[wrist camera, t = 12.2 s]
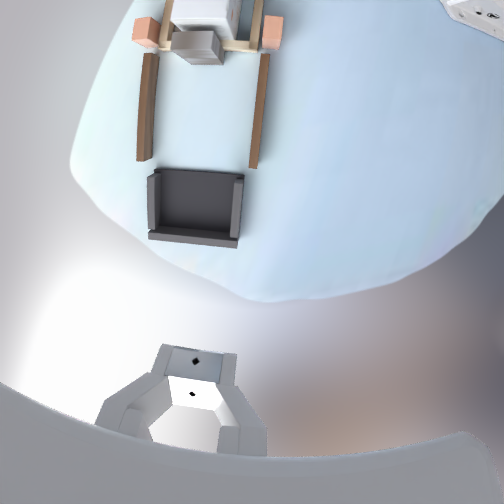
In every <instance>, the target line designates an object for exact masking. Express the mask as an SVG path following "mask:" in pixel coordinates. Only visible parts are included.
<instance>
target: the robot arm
mask: <svg viewBox="0 0 504 504" xmlns="http://www.w3.org/2000/svg"><path fill="white" fill-rule="evenodd" d="M440 1H441V2H442V4H443V6H444V8H445V10H446V11H447V13H448V14H449V16H450V17H451V18H452V19H453V20H455V21H458V22H460V23H463V24H466V25H468V26H471V27H473V28H476V29H478V30H480V31H483V32H485V33H487V34H489V35H491V36H494V37H496V38H498V39H500V40H502V41H504V0H440ZM236 360H237V354H231V353H223V352H213V351H206V350H196V349H190V348H184V347H179V346H173V345H167V344H162V345H161V347H160V349H159V352H158V354H157V357H156V360H155V363H154V365H153V368H152V370H151V373H145V374H144V375H143V376H141V377H139V378H138V379H136V380H135V381H134V382H132V383H130V384H129V385H127V386H126V387H124V388H123V389H121V390H120V391H118V392H117V393H115V394H114V395H112V396H111V397H109V398H107V399H106V400H105V401H104V403H103V406H102V408H101V410H100V412H99V415H98V417H97V419H96V422H95V424H94V425H93V424H90V423H87V422H85V421H82V420H79V419H77V418H74V417H72V416H69V415H67V414H64V413H62V412H59V411H57V410H55V409H52V408H50V407H48V406H45V405H43V404H41V403H39V402H37V401H35V400H33V399H31V398H29V397H27V396H25V395H23V394H21V393H19V392H17V391H15V390H13V389H12V388H10V387H7V386H6V385H4V384H3V383H1V382H0V504H504V499H503V494H502V489H501V484H500V480H499V476H498V473H497V469H496V466H495V463H494V460H493V457H492V454H491V452H490V450H489V448H488V447H487V446H486V445H485V444H484V443H482V442H481V441H480V440H479V439H477V438H476V437H475V436H473V435H472V434H470V433H468V432H466V431H461V432H456V433H453V434H450V435H447V436H443V437H439V438H436V439H432V440H428V441H424V442H419V443H415V444H410V445H406V446H401V447H396V448H390V449H384V450H378V451H371V452H364V453H355V454H345V455H333V456H317V457H267V427H266V426H265V425H264V423H263V422H262V421H261V419H260V418H259V417H258V415H257V414H256V412H255V411H254V409H253V408H252V406H251V405H250V404H249V402H248V401H247V399H246V398H245V396H244V395H243V393H242V392H241V391H240V389H239V388H238V386H234V379H235V370H236ZM173 404H179V405H185V406H194V407H199V408H205V409H211V410H214V411H215V413H216V415H217V417H218V419H219V421H220V423H221V425H222V427H221V428H220V432H219V439H218V446H217V453H214V452H207V451H201V450H193V449H188V448H182V447H176V446H171V445H166V444H162V443H157V442H153V439H152V437H151V434H150V432H149V429H148V427H149V426H150V425H151V424H152V423H153V422H155V421H156V420H157V419H158V418H159V417H160V416H161V415H162V414H163V413H164V412H165V411H167V410H168V409H169V408H170V407H171V406H172V405H173Z"/></svg>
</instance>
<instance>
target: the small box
mask: <svg viewBox="0 0 504 504" xmlns="http://www.w3.org/2000/svg"><path fill="white" fill-rule="evenodd" d="M241 5H242V0H174V1H173V6H172V11H171V16H170V21H171V22H173V23H174V24H175V25H176V26H177V27H178V28H179V29H180V30H181V31H182V32H183V31H214V33H215V35H216V36H217V38H218V40H237V32H238V25H239V18H240V12H241Z"/></svg>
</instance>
